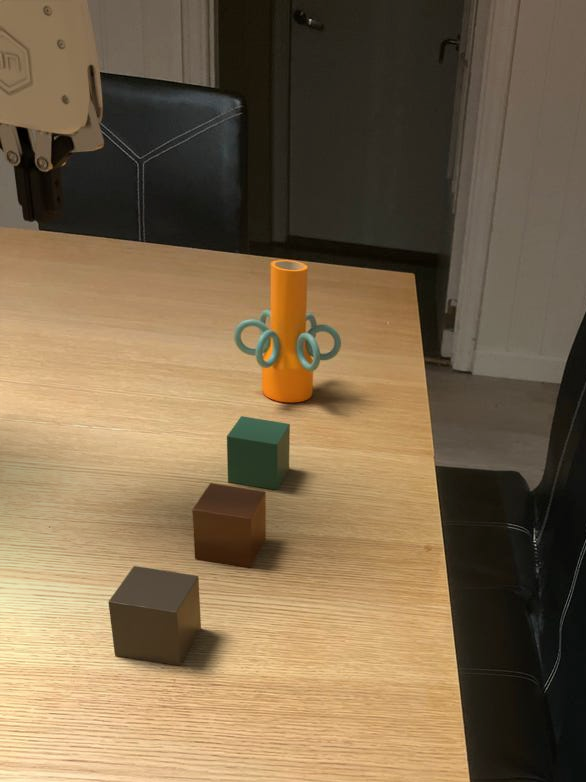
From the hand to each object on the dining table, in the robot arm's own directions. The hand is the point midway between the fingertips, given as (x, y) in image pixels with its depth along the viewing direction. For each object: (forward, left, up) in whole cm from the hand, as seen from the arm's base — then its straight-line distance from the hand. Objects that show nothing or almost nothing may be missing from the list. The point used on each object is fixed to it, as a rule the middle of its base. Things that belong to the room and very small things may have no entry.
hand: (42, 218), depth 76 cm
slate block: (-4, -27, -24) cm, 36 cm away
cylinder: (+29, +11, -24) cm, 39 cm away
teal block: (+16, -6, -24) cm, 29 cm away
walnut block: (+7, -18, -24) cm, 30 cm away
